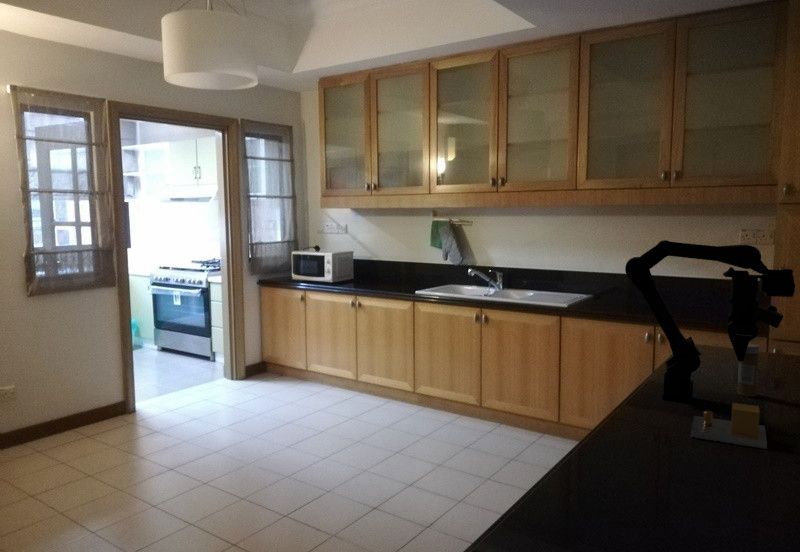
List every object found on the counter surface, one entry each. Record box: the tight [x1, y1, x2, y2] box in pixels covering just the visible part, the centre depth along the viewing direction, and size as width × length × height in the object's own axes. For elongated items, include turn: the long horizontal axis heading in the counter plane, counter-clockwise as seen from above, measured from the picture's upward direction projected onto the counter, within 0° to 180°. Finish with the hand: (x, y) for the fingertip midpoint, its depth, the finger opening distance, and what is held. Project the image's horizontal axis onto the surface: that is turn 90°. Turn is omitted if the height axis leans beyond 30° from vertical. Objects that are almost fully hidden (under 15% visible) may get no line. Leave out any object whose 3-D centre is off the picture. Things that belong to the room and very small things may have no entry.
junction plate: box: [690, 410, 768, 450], centre depth 132 cm, size 14×11×4 cm
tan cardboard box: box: [730, 402, 761, 436], centre depth 131 cm, size 5×5×5 cm
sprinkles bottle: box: [736, 343, 760, 398], centre depth 161 cm, size 5×5×13 cm
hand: (740, 357), depth 153 cm, fingers open, 9 cm apart
